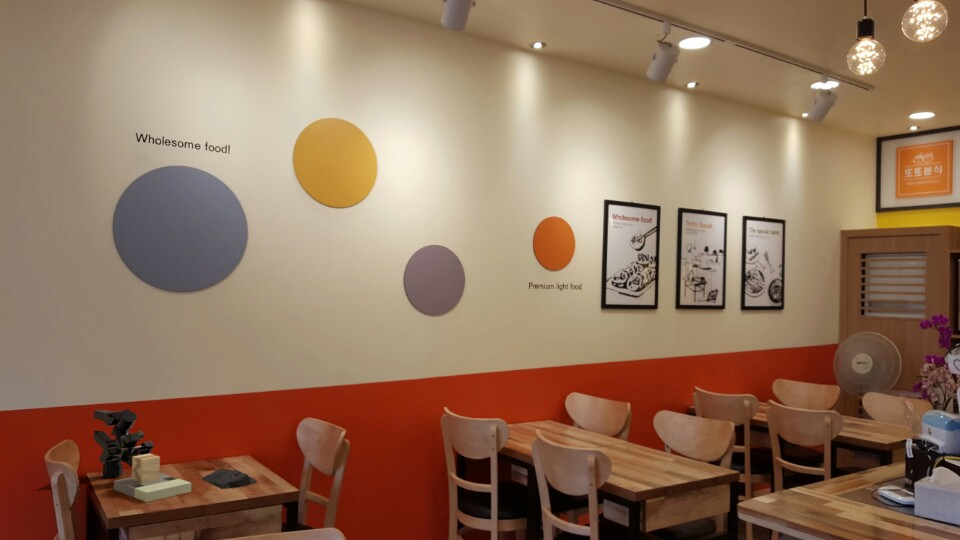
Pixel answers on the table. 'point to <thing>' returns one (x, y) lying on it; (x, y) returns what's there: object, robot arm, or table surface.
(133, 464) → the maple block
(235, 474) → the dark slate chunk
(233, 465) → the table surface
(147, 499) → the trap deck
